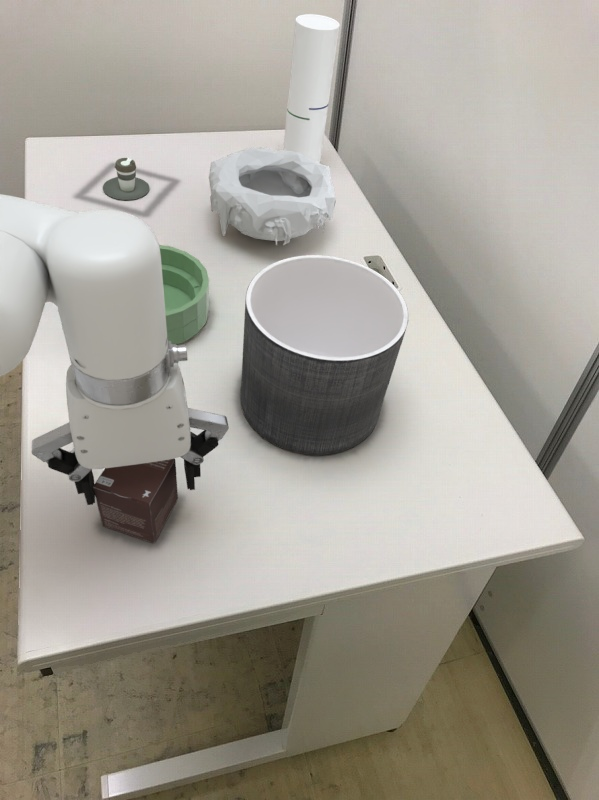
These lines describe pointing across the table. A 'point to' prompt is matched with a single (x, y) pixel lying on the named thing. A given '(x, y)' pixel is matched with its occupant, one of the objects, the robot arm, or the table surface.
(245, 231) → the bowl
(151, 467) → the box
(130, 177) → the coffee cup
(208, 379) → the table surface
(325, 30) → the cylindrical container
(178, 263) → the green bowl
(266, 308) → the planter
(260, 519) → the table surface
